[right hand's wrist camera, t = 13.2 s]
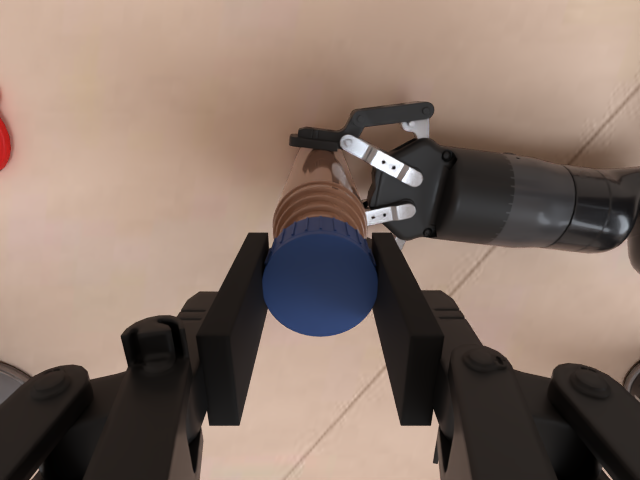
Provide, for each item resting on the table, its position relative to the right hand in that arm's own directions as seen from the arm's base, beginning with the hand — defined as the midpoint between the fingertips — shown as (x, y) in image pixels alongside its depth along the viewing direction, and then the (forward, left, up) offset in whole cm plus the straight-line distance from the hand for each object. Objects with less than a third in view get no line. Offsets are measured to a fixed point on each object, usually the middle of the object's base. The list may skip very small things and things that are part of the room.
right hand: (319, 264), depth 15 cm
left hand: (-2, -1, -16) cm, 16 cm away
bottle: (0, 0, -23) cm, 23 cm away
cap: (0, 0, +2) cm, 2 cm away
